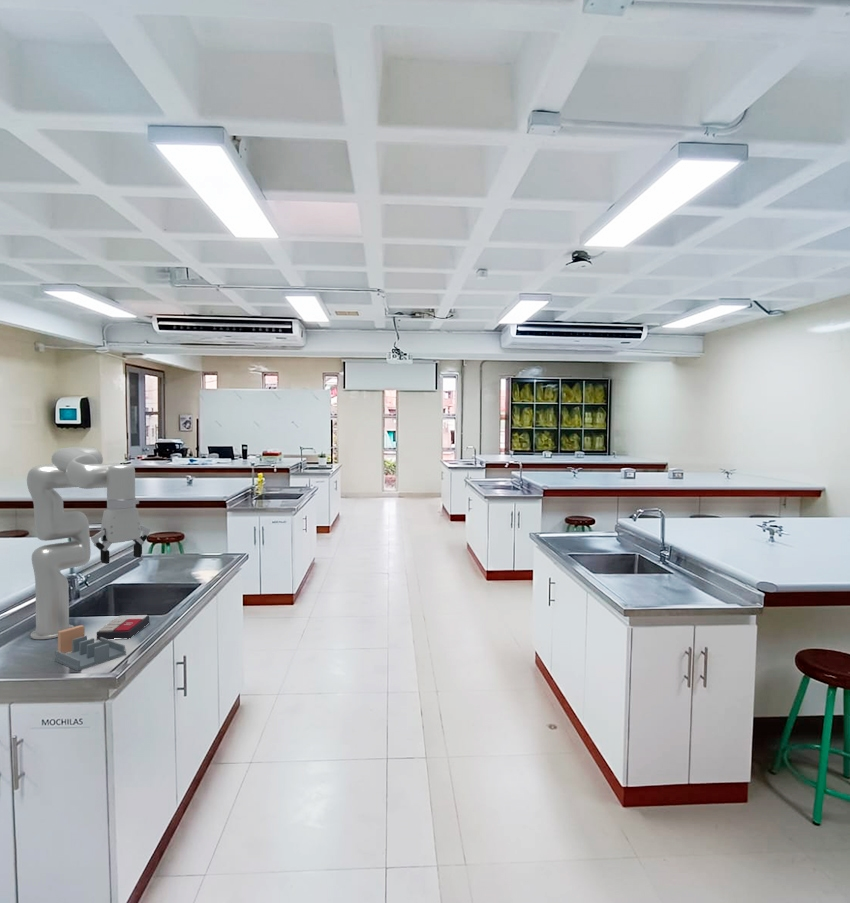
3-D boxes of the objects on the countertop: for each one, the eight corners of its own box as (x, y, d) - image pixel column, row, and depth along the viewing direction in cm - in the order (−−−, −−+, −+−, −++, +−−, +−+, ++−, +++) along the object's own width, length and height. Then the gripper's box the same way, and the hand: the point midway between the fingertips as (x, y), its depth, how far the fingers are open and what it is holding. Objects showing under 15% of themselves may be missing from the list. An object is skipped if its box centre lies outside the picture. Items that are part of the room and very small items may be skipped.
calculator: (95, 630, 177) (119, 613, 192) (96, 642, 177) (119, 625, 192) (128, 629, 177) (149, 613, 192) (129, 641, 178) (149, 624, 193)
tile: (57, 653, 166) (57, 631, 166) (81, 645, 172) (81, 624, 172) (60, 654, 165) (60, 632, 165) (84, 647, 171) (84, 626, 171)
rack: (54, 660, 160) (54, 644, 160) (102, 645, 172) (102, 630, 172) (77, 671, 153) (77, 654, 152) (125, 654, 164) (125, 638, 164)
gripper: (142, 501, 169) (142, 553, 169) (84, 507, 154) (85, 564, 154) (155, 502, 165) (155, 556, 165) (98, 508, 150) (98, 567, 150)
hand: (121, 560), depth 159 cm, fingers open, 9 cm apart
